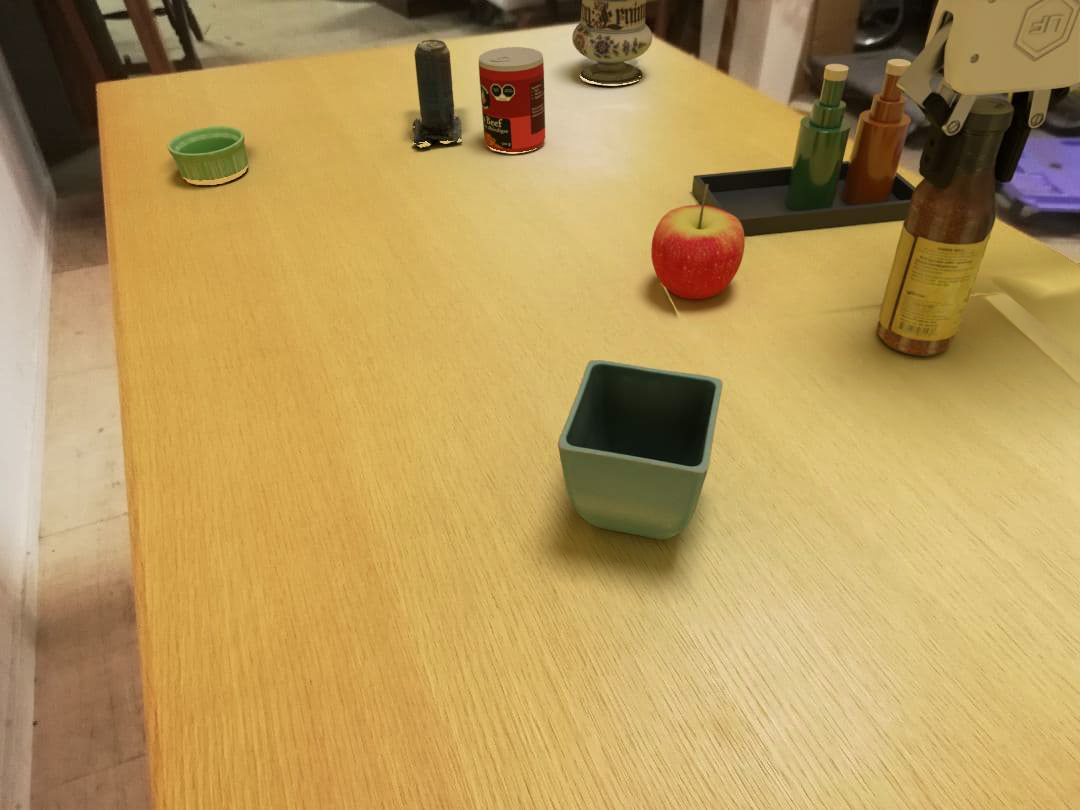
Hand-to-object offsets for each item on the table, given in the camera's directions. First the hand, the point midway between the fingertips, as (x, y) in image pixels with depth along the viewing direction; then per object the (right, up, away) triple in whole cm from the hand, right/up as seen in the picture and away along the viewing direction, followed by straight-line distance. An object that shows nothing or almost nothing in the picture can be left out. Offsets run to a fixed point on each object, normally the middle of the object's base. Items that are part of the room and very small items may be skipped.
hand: (964, 175), depth 58 cm
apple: (-17, -6, +16) cm, 24 cm away
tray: (-2, +5, +29) cm, 29 cm away
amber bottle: (+5, +6, +29) cm, 30 cm away
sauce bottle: (+1, -11, +10) cm, 15 cm away
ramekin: (-72, +12, +40) cm, 83 cm away
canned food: (-35, +17, +45) cm, 59 cm away
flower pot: (-25, -24, -4) cm, 35 cm away
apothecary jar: (-20, +34, +64) cm, 75 cm away
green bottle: (-2, +5, +28) cm, 29 cm away
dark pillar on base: (-45, +19, +48) cm, 68 cm away
